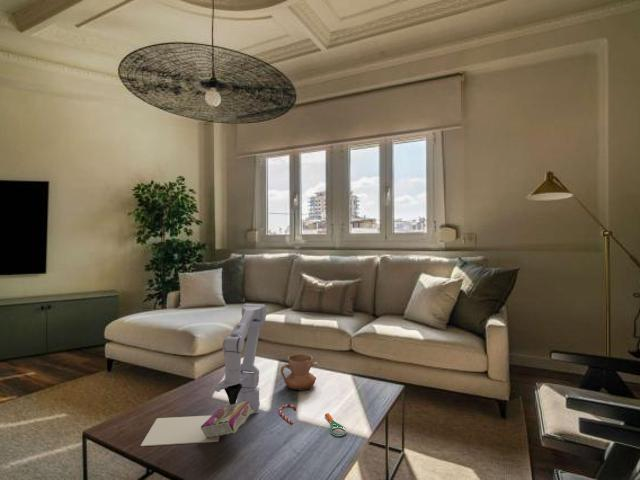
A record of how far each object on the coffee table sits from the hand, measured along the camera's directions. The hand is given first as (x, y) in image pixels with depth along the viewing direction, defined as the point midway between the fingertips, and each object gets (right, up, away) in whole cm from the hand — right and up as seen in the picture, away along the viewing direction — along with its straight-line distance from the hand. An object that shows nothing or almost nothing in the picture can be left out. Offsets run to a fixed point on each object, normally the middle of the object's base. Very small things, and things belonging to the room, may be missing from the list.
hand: (232, 403), depth 134 cm
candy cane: (+21, -10, +11) cm, 26 cm away
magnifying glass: (+39, -11, +3) cm, 40 cm away
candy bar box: (-7, -6, -2) cm, 9 cm away
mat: (-17, -9, -1) cm, 19 cm away
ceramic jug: (+23, -9, +38) cm, 45 cm away
